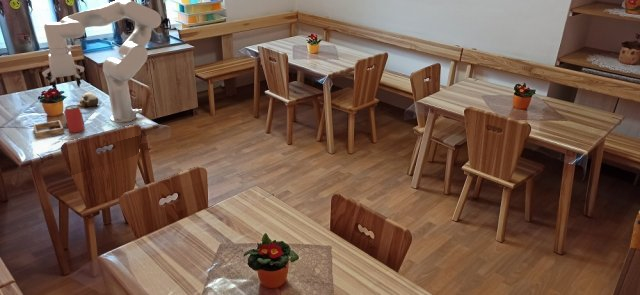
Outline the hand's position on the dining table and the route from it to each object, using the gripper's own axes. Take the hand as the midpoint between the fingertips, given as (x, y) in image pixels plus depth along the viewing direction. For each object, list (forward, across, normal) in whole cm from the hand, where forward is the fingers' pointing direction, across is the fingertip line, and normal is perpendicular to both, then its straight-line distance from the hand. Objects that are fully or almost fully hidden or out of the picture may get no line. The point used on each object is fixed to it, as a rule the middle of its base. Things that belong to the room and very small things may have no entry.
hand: (67, 87), depth 222 cm
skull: (+23, -12, -34) cm, 43 cm away
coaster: (+22, 0, 0) cm, 22 cm away
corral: (+22, +11, -6) cm, 25 cm away
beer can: (+22, 0, 0) cm, 22 cm away
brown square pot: (+22, -1, -10) cm, 24 cm away
